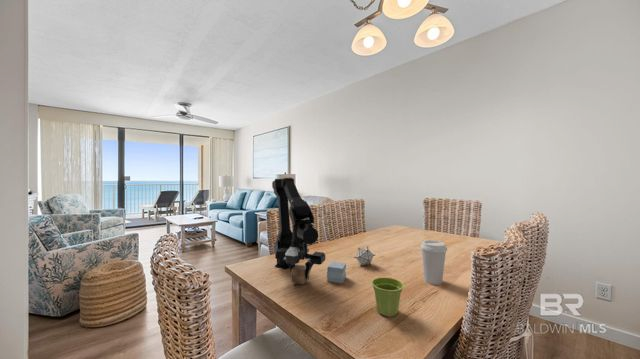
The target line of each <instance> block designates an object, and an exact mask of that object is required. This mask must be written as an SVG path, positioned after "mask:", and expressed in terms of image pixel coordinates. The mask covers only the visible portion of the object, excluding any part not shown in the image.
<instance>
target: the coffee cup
mask: <svg viewBox="0 0 640 359" xmlns="http://www.w3.org/2000/svg"><path fill="white" fill-rule="evenodd" d="M419 248H421V258H422V259H421V260H422V270H423V280H424V282H425V283H427V284H429V285H433V286H434V285H435V286H437V285H442V284H443V278H444V270H445V261H446V254H447V252H448V247H447V246H446V244H445V242H442V241H439V240H431V239H428V240H427V239H425V240H423V241H422V243H421V244H420V247H419Z"/></svg>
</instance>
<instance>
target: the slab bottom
mask: <svg viewBox="0 0 640 359" xmlns="http://www.w3.org/2000/svg"><path fill="white" fill-rule="evenodd" d="M346 273H347V272H345V275H344V277H343V278H342V279H338V278H331V277H327V276H326V279H327V280H326V281H327V282H329V281H330V282H331V283H338V284H343V283H344V281H345V280H346V277H347V274H346Z"/></svg>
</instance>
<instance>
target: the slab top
mask: <svg viewBox="0 0 640 359" xmlns="http://www.w3.org/2000/svg"><path fill="white" fill-rule="evenodd" d="M346 269H347V263H346V262H336V261H331V262H330V263H329V264H328V265H327V269H326V270H327V271H326V273H327V272H332V273H340V274H343V272H344V271H345V272H346Z"/></svg>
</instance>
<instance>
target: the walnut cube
mask: <svg viewBox="0 0 640 359" xmlns="http://www.w3.org/2000/svg"><path fill="white" fill-rule="evenodd" d="M290 274H291V275H290V280H291V283H292V284H293V283H295V284H300V285H304V284H306V283H307V282H308V280H309V279H310V278H309V276H310V275H309V276H308V278H307V279H306V277H305V274H306V265H303V264H296V266H295V267H293V268H292V269H291V271H290Z"/></svg>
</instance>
